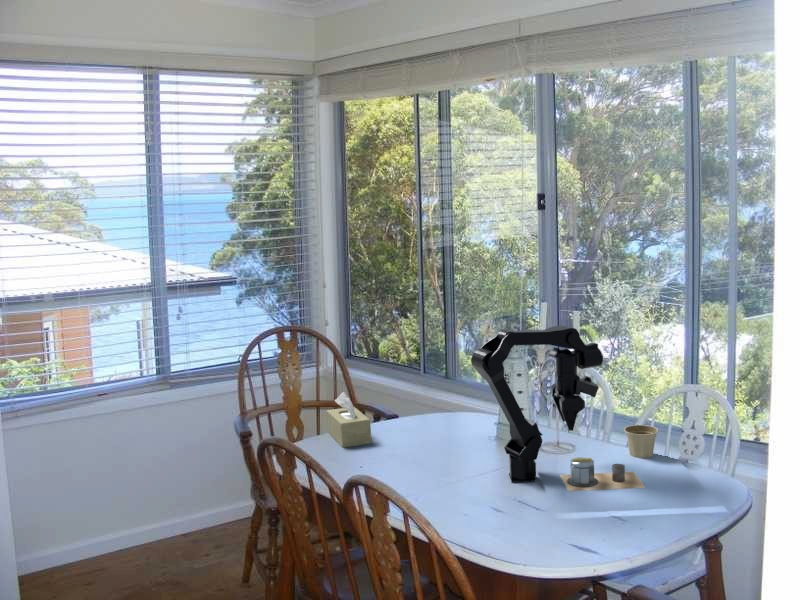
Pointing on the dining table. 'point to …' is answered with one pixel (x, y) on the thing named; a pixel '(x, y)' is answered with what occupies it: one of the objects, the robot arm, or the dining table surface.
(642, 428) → the flower pot
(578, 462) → the cap
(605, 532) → the dining table surface
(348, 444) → the tissue box
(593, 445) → the dining table surface
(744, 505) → the dining table surface
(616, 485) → the board
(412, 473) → the dining table surface
